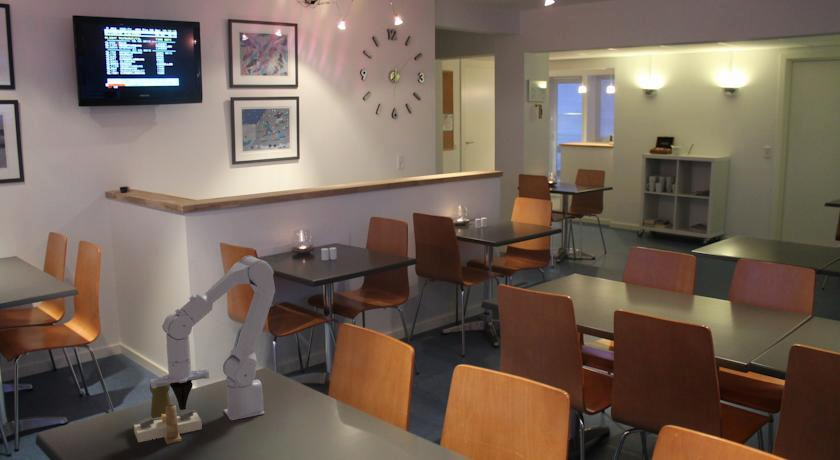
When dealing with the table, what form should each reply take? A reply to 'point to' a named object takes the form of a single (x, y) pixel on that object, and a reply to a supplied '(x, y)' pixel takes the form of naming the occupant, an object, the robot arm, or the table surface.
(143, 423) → the rocker
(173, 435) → the oak post
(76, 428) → the table surface
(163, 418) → the rocker
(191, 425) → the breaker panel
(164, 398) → the cork
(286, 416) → the table surface
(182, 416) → the rocker
